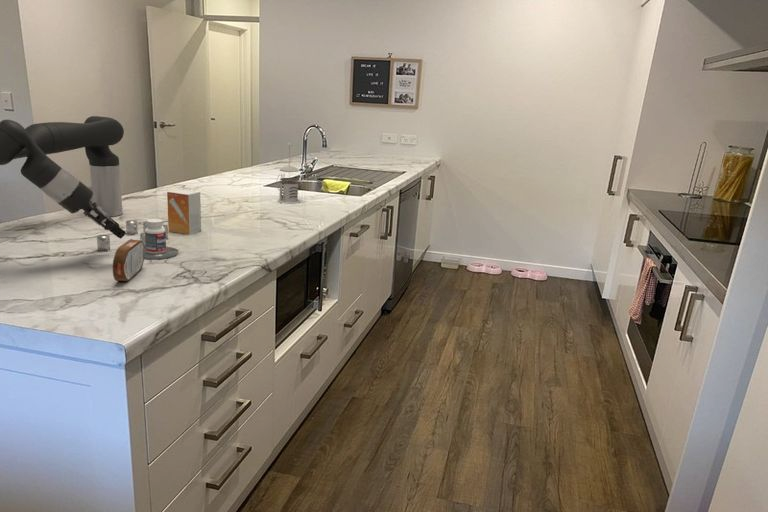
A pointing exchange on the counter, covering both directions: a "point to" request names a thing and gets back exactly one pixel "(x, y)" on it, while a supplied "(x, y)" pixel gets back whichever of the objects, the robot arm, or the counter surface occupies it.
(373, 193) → the counter surface
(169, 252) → the coaster
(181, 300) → the counter surface
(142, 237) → the cylinder
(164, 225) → the cylinder
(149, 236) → the pill bottle
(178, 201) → the small box
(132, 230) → the cylinder
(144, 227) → the cylinder
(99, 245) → the spacer near
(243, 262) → the counter surface
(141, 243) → the tin
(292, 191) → the french press
